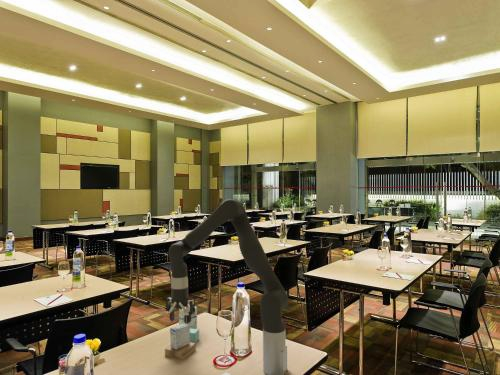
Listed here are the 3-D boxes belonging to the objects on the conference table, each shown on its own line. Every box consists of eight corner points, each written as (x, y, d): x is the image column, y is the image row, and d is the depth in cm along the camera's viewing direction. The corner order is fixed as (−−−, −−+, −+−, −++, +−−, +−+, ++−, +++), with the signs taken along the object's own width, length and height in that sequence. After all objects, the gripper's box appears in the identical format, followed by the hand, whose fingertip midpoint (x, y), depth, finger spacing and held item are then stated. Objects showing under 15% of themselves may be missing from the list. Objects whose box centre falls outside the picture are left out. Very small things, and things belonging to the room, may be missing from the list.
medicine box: (184, 341, 169) (183, 323, 169) (190, 344, 166) (189, 325, 166) (170, 347, 163) (169, 328, 164) (176, 350, 160) (175, 330, 161)
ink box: (182, 332, 187) (182, 309, 187) (178, 329, 191) (178, 307, 191) (197, 328, 191) (197, 306, 191) (193, 325, 196) (193, 304, 195)
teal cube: (198, 339, 179) (198, 329, 179) (195, 343, 174) (195, 333, 174) (189, 338, 180) (189, 328, 180) (185, 342, 175) (185, 332, 175)
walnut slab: (195, 350, 167) (195, 343, 167) (183, 360, 158) (183, 352, 158) (177, 347, 171) (177, 339, 171) (164, 356, 162) (164, 348, 162)
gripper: (197, 285, 165) (198, 320, 165) (171, 282, 171) (171, 317, 171) (188, 289, 158) (189, 326, 158) (161, 287, 164) (162, 322, 164)
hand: (180, 321), depth 164 cm, fingers open, 8 cm apart
